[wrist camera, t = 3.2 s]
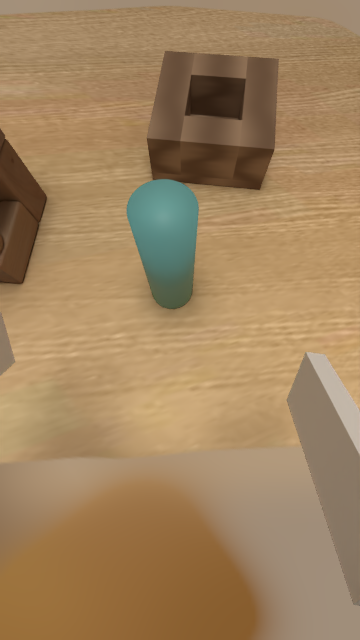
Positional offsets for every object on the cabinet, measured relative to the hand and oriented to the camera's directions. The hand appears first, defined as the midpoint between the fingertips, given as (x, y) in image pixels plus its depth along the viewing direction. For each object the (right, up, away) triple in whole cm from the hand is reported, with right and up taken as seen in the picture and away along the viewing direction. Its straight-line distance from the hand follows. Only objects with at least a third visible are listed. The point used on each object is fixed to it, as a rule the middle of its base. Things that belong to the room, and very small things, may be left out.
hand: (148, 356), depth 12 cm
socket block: (+5, +23, +19) cm, 30 cm away
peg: (+1, +5, +15) cm, 15 cm away
